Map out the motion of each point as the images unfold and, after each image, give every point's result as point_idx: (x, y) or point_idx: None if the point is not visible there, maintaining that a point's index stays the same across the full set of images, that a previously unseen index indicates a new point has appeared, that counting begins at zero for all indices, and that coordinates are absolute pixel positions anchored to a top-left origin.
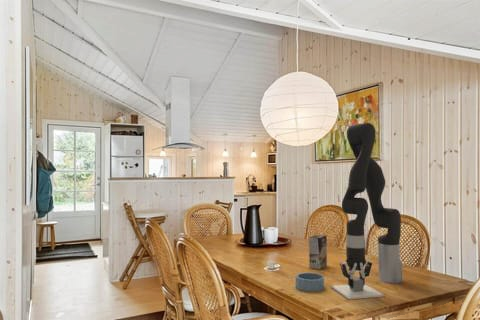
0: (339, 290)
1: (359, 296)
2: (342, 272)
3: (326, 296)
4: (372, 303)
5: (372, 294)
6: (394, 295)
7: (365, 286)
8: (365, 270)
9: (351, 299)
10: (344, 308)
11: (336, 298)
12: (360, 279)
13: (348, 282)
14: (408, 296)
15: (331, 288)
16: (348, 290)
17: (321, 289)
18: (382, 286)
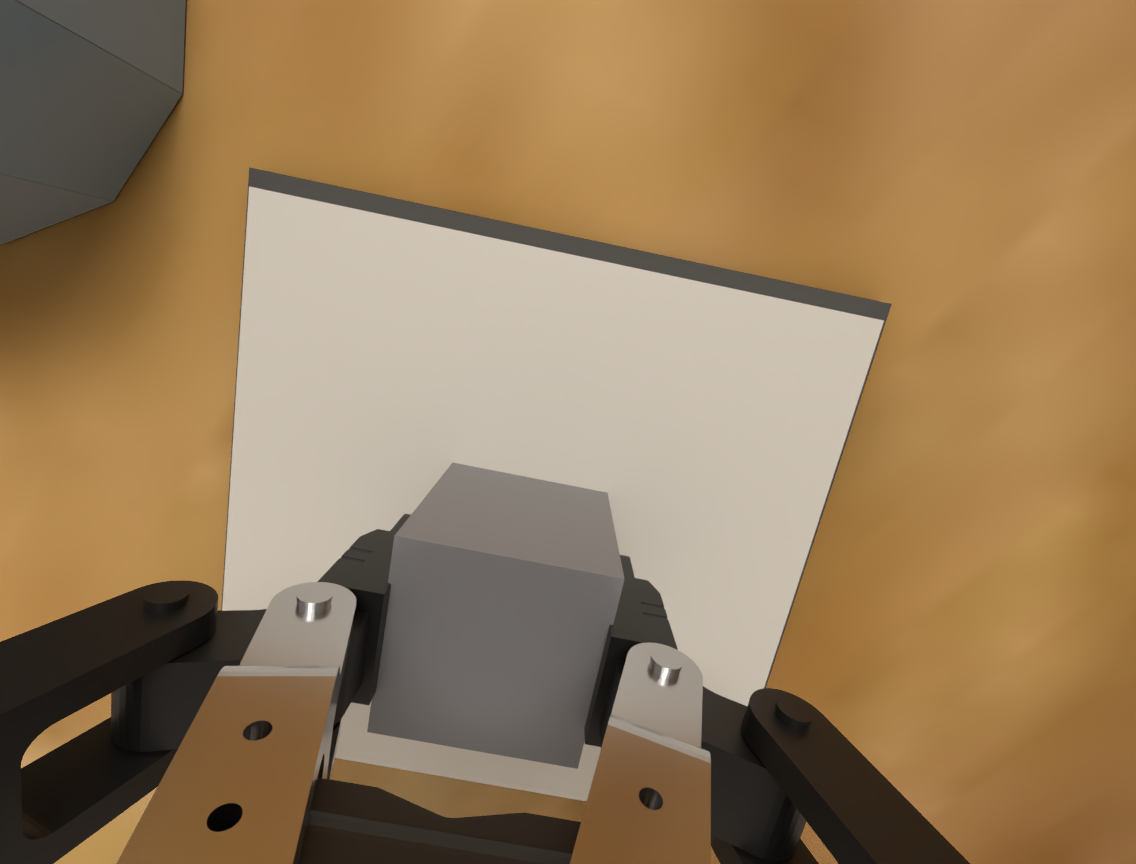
0: (248, 457)
1: (374, 764)
2: (14, 637)
3: (35, 463)
4: None
5: (590, 773)
6: (902, 776)
7: (779, 466)
8: (836, 834)
9: None
10: (68, 853)
11: (135, 580)
12: (558, 712)
13: (339, 567)
14: (1013, 857)
15: (246, 223)
16: (386, 514)
17: (31, 219)
18: (1117, 440)
